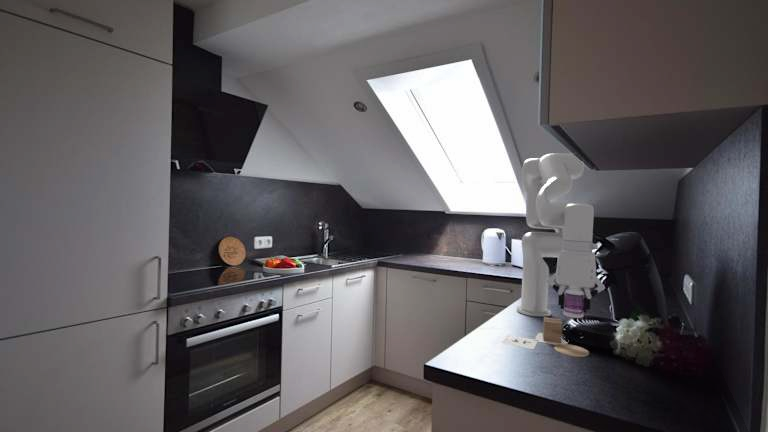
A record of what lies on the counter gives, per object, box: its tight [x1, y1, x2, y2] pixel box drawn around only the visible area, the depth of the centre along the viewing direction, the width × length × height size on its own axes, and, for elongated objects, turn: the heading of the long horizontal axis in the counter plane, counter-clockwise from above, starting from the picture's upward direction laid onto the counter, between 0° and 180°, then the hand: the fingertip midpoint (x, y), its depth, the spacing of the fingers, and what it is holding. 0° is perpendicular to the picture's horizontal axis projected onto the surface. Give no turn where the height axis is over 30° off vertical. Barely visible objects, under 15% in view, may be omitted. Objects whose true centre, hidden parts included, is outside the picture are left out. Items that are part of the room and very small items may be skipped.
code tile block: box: [534, 332, 569, 346], centre depth 121 cm, size 9×9×1 cm
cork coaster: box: [553, 343, 590, 358], centre depth 112 cm, size 9×9×1 cm
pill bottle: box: [562, 286, 586, 319], centre depth 111 cm, size 5×5×10 cm
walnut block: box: [542, 316, 563, 343], centre depth 120 cm, size 5×5×6 cm
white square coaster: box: [501, 334, 539, 350], centre depth 118 cm, size 9×9×1 cm
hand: (573, 309), depth 111 cm, fingers closed on pill bottle, 5 cm apart
